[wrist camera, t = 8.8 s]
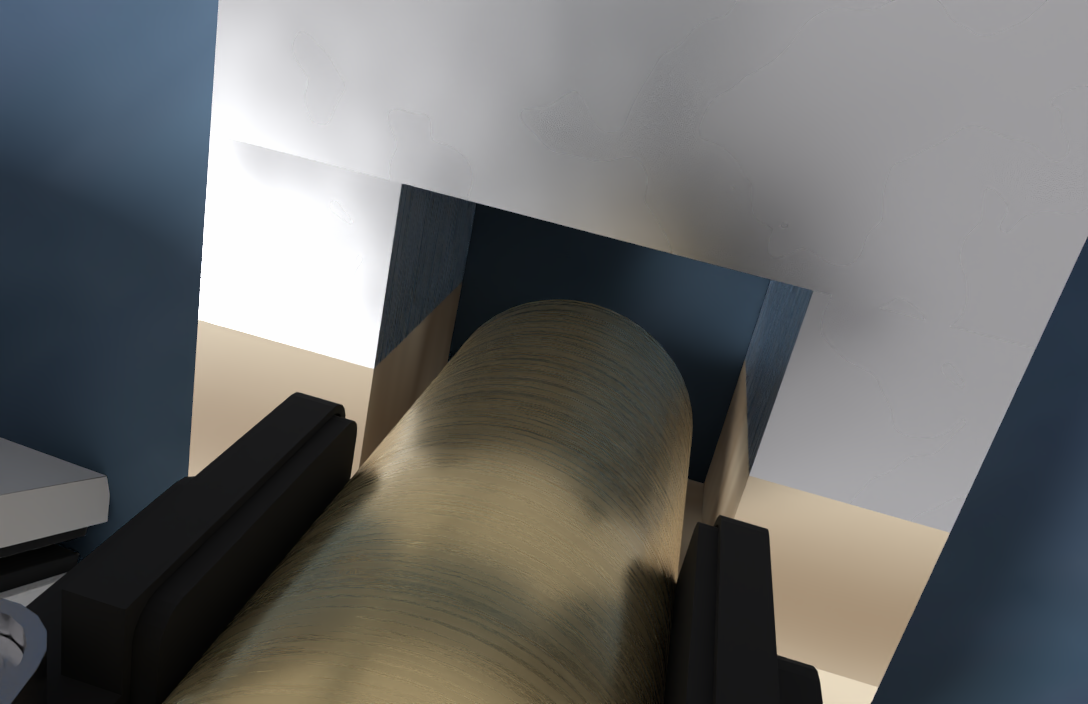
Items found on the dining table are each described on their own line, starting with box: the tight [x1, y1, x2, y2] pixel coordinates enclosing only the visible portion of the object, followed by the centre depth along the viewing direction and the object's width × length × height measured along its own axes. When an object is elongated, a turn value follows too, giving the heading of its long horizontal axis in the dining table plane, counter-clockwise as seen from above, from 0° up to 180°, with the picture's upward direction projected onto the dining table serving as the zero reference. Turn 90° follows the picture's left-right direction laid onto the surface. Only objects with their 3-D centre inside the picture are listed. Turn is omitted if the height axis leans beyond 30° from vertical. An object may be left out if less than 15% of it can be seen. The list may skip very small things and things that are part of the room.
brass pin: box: [162, 299, 693, 704], centre depth 9 cm, size 4×4×12 cm
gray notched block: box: [198, 0, 1088, 533], centre depth 14 cm, size 10×12×5 cm
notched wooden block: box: [188, 282, 950, 704], centre depth 18 cm, size 10×12×5 cm
